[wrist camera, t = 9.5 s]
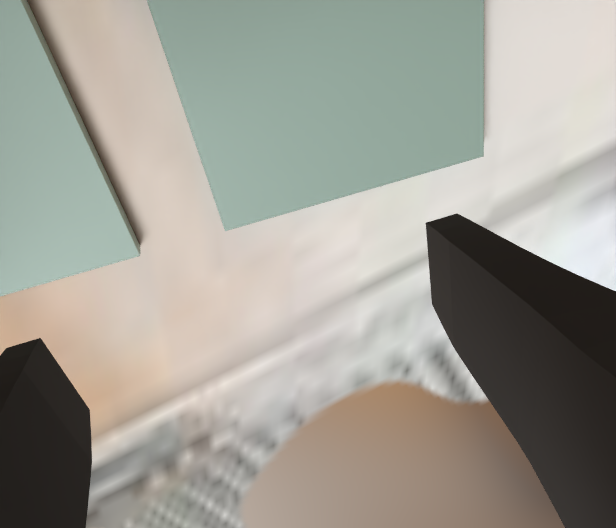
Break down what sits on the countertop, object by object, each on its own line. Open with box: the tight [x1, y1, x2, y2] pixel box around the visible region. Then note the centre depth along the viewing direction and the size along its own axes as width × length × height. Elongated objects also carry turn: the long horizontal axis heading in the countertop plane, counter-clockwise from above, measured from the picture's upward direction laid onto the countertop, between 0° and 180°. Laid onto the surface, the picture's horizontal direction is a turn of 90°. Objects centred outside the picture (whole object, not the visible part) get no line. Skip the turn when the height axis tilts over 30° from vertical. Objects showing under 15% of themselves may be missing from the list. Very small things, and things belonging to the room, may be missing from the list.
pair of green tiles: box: [0, 0, 484, 296], centre depth 17 cm, size 22×9×1 cm, turn 101°
